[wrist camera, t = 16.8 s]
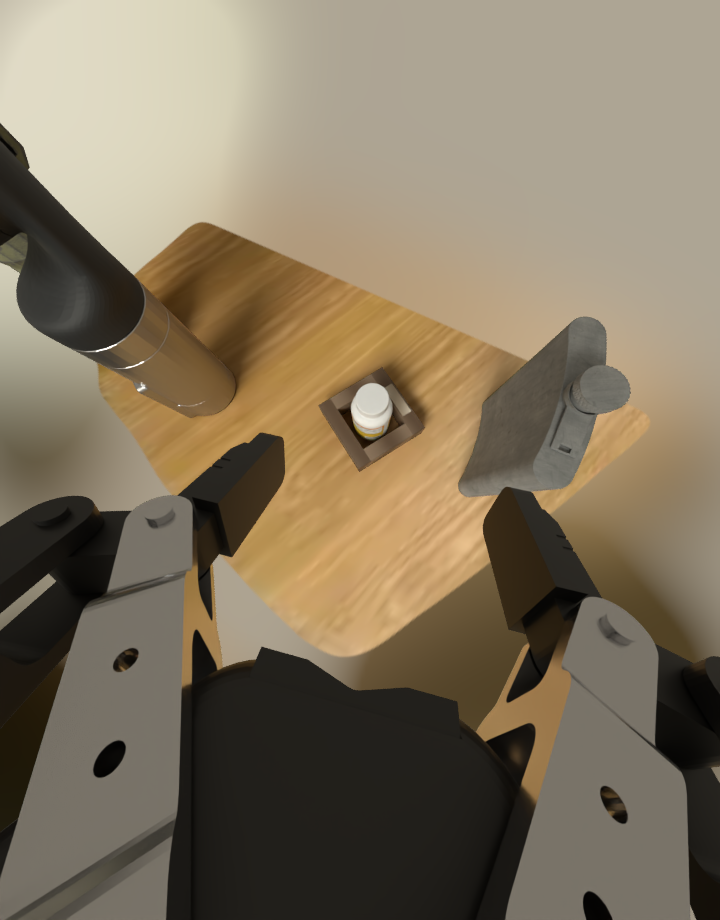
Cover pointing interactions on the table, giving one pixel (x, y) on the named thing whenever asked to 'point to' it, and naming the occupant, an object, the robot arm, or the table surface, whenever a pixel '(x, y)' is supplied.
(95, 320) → the robot arm
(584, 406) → the hip flask
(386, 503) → the table surface
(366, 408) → the supplement bottle
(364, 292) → the table surface
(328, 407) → the socket block
